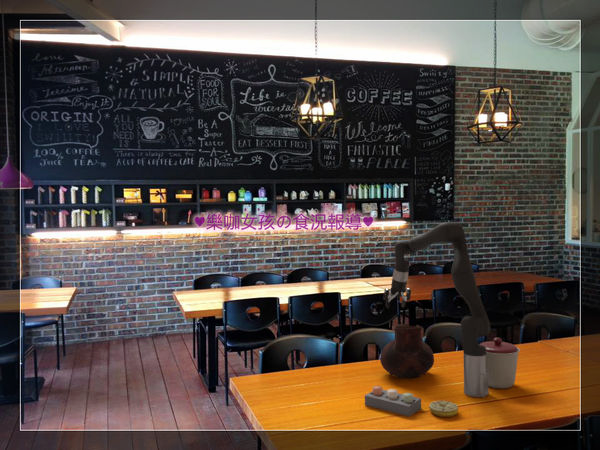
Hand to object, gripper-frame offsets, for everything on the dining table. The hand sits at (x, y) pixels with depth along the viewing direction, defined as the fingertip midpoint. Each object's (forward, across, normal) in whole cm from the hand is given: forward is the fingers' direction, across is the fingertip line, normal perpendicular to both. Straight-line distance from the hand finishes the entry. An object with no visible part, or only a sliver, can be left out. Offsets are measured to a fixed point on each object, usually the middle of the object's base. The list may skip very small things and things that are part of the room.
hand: (395, 307), depth 271 cm
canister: (+12, +27, -54) cm, 61 cm away
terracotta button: (+13, -32, -54) cm, 64 cm away
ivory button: (+11, -28, -59) cm, 67 cm away
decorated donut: (+10, -12, -72) cm, 74 cm away
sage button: (+9, -24, -65) cm, 70 cm away
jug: (+22, -4, -29) cm, 36 cm away
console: (+13, -28, -60) cm, 68 cm away
